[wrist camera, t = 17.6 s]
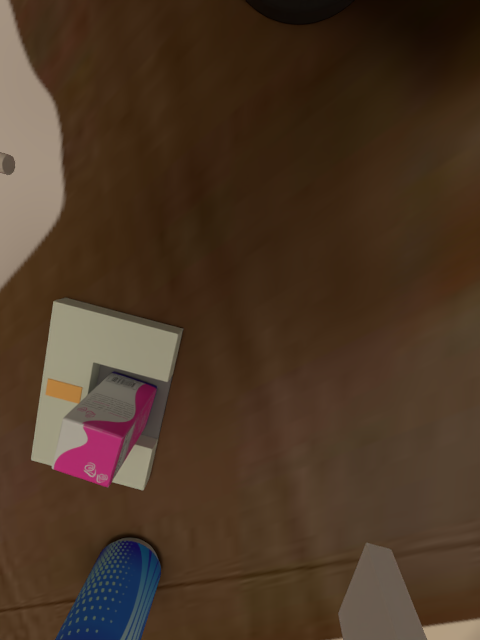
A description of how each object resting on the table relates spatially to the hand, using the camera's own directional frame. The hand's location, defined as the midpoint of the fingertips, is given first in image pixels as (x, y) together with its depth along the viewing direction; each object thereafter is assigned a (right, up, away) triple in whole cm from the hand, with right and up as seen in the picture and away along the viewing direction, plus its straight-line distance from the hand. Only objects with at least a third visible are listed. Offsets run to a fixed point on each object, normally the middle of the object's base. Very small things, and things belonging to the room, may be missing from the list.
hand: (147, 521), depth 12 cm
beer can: (-12, -26, +39) cm, 48 cm away
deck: (-13, -3, +34) cm, 36 cm away
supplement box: (-10, -3, +34) cm, 36 cm away
